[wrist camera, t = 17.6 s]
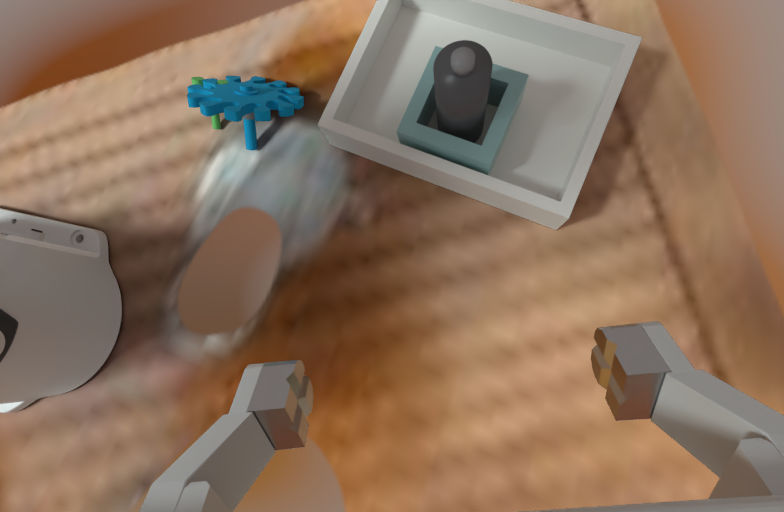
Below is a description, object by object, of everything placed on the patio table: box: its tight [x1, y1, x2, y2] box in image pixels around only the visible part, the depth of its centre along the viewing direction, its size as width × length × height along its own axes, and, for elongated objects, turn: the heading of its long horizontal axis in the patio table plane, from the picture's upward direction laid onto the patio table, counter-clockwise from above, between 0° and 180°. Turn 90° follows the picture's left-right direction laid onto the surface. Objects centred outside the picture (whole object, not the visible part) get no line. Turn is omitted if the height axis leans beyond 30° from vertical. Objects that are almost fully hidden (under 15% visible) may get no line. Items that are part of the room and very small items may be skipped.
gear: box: [187, 76, 304, 150], centre depth 39 cm, size 11×6×10 cm
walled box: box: [318, 0, 642, 230], centre depth 36 cm, size 22×16×5 cm
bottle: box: [433, 40, 493, 143], centre depth 33 cm, size 4×4×10 cm
